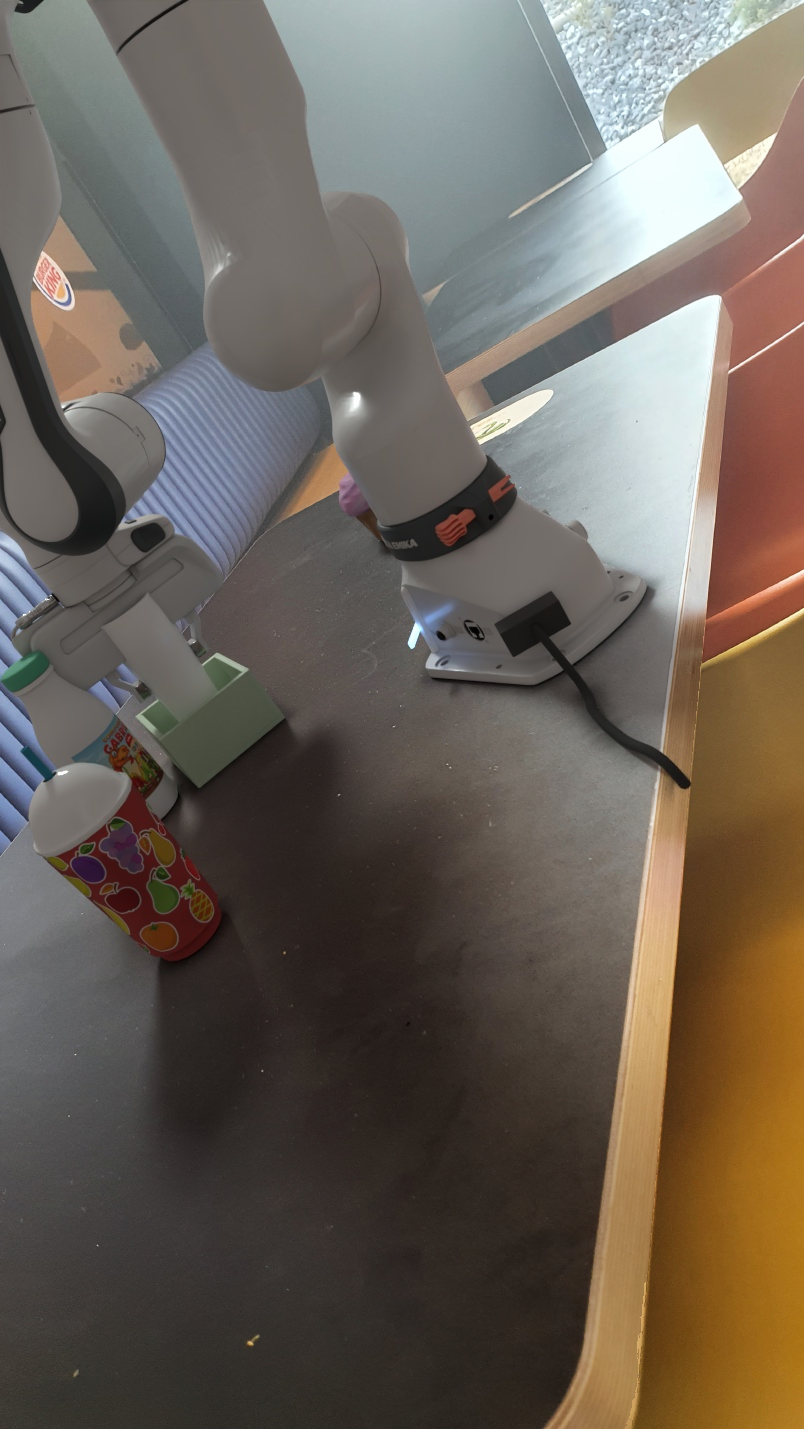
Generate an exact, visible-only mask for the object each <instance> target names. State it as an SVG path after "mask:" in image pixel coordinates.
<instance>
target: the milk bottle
mask: <svg viewBox="0 0 804 1429" xmlns="http://www.w3.org/2000/svg"><path fill="white" fill-rule="evenodd" d="M48 666H49V667H48ZM47 667H48V668H47ZM44 671H45V672H44ZM0 682H1V684H2V685H3V687H5V688H6V690H7V691H8V692H10V693H11V694H12V695H13V697H14V698H18V699H19V700H20V701H21V702H22V704H23V706H24V708H25V710H26V712H27V714H28V716H29V719H30V722H31V725H32V728H33V732H34V736H35V738H36V740H37V743H38V745H39V747H40V749H41V750H42V752H43V753H44V755H45V756H46V757H47V759H48V760H49V761H50V763H51V764H52V765H53V766H54V767H55V769H59V768H61V767H63V766H66V765H70V764H74V763H81V762H83V763H94V764H99V765H103V766H106V767H108V768H110V769H113V770H114V771H116V772H123V773H126V774H127V775H128V776H129V778H130V779H131V781H132V784H133V785H134V786H135V787H136V788H137V789H138V791H139V792H140V793H141V795H142V796H143V797H144V799H145V800H146V801H147V803H148V804H149V805H150V807H151V808H152V809H153V811H154V812H155V813H156V815H157V816H158V817H159V819H160V820H161V821H162V819H163V818H164V817H165V816H166V815H167V814H168V813H169V812H170V810H171V809H172V808H173V806H174V805H175V803H176V801H177V799H178V797H179V796H178V795H179V791H178V787H177V785H176V784H175V783H174V781H173V780H172V779H171V777H170V776H169V775H168V774H167V773H166V771H165V770H164V769H163V768H162V767H161V765H160V764H159V763H158V762H157V760H156V759H155V758H154V757H153V756H152V755H151V754H150V752H149V751H148V750H147V749H146V748H145V746H144V745H143V744H142V743H141V742H140V741H139V740H138V738H137V737H136V736H135V734H133V732H132V731H131V730H130V728H128V727H127V726H126V724H125V723H124V722H123V721H122V720H121V718H120V717H118V715H117V714H116V713H115V712H114V711H113V709H111V707H109V705H107V704H106V703H105V702H104V701H103V700H101V699H100V698H98V697H97V696H96V695H94V694H92V693H91V692H88V691H84V690H82V689H80V688H78V687H76V686H74V685H72V684H70V683H69V682H67V681H66V680H64V679H63V678H61V677H60V676H59V675H58V674H57V673H56V672H55V671H54V666H53V665H51V664H50V662H49V660H48V659H47V657H46V656H45V655H44V654H43V653H42V652H40V651H34V652H31V653H29V654H27V655H26V656H24V657H22V656H21V658H20V659H18V660H17V661H16V662H14V663H13V664H11V665H10V666H9V667H7V669H6V670H5V671H4V672H3V674H2V675H1V676H0Z"/></svg>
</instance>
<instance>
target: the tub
mask: <svg viewBox="0 0 804 1429" xmlns="http://www.w3.org/2000/svg"><path fill="white" fill-rule="evenodd" d="M201 664H202V666H203V668H204V669H205V671H206V672H207V674H208V675H209V677H210V678H211V680H212V682H213V683H214V685H215V686H216V688H217V689H218V690H219V691H218V692H217V693H216V694H214V695H213V696H212V697H211V698H209V699H208V700H207V701H206V702H204V703H203V704H202V705H201V706H199V707H198V708H197V709H196V710H194V711H193V712H192V713H191V714H189V715H188V716H187V717H186V718H184V719H183V720H182V721H181V722H179V723H178V721H177V720H176V719H175V718H174V717H173V716H172V715H171V714H170V712H169V711H168V710H167V709H166V708H165V707H164V706H163V705H162V704H161V703H160V702H159V701H158V700H157V699H155V701H154V702H152V703H151V704H149V705H148V706H146V708H145V709H143V710H142V711H141V712H140V713H138V714H136V716H135V719H136V720H137V721H138V723H139V724H140V725H141V726H142V727H143V729H145V731H146V732H147V733H148V734H149V735H150V736H151V738H152V739H153V741H155V743H156V744H157V745H158V747H160V749H161V750H162V752H164V753H165V755H166V756H167V757H168V758H169V760H170V761H171V762H172V763H173V764H174V765H175V766H176V767H177V768H178V769H179V770H180V771H181V773H183V774H184V775H185V776H186V777H187V778H188V779H189V780H190V781H191V782H192V783H193V784H194V785H195V786H196V787H197V788H198V789H201V788H202V787H203V786H204V785H206V784H207V783H208V782H209V781H210V780H212V779H213V778H214V777H215V776H216V775H218V773H220V772H221V771H222V770H223V769H225V768H226V767H227V766H229V765H230V764H231V763H232V762H233V761H234V760H236V759H237V758H238V757H239V756H240V755H242V754H243V753H245V751H247V750H248V749H249V748H251V746H253V745H254V744H255V743H257V742H258V741H259V740H260V739H262V737H263V736H265V735H266V734H267V733H268V732H270V731H271V730H272V729H274V728H275V727H276V726H277V725H278V724H279V723H280V722H282V721H283V720H284V719H285V718H286V717H285V715H284V714H283V713H282V711H281V710H280V708H279V706H278V705H277V704H276V703H275V701H274V700H273V699H272V698H271V696H270V694H269V693H268V692H267V690H266V689H265V688H264V687H263V686H262V684H261V683H260V681H259V680H258V679H257V677H256V676H255V674H254V673H253V672H252V671H251V669H250V668H248V667H245V666H244V665H242V664H240V663H238V662H236V661H234V660H232V659H230V658H229V657H227V656H225V655H223V654H221V653H219V652H215V653H214V654H213V655H212V656H211V657H209V658H208V659H207V660H206V661H204V662H203V663H201Z"/></svg>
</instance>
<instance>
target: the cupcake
mask: <svg viewBox="0 0 804 1429" xmlns="http://www.w3.org/2000/svg"><path fill="white" fill-rule="evenodd" d="M338 485H339V489H338V490H339V493H338V494H339V496H338V503H339V505H340V508H341V510H342V511H343V512H344V514H347V515H348V516H349V517H351V518H353V517H354V518H356V519H357V520H358V521H359V523H361V524H362V525H363V526H364V527H365V528H366V529H367V530H368V531H369V532H370V534H372V535H373V536H374V537H375V538H376V539H377V540H379V541H382V542H384V541H383V539H382V536H381V533H380V531H379V530H378V528H377V520H378V519H377V518H376V516H375V514H374V513H373V511H372V509H371V508H370V506H369V504H368V503H367V501H366V500H365V498H364V496H363V495H362V493H361V491H360V490H359V488H358V487H357V485H356V483H355V482H354V480H353V478H352V477H351V475H350V473H349V472H347V473H346V474H345V475H344V476H342V477H341V478H340V480H339V483H338Z"/></svg>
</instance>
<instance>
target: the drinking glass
mask: <svg viewBox="0 0 804 1429" xmlns="http://www.w3.org/2000/svg"><path fill="white" fill-rule="evenodd" d="M149 594H150V593H148V592H147V593H146V594H145V595H144V597H143V598H142V599H141V600H140V601H139V602H138V603H137V604H136V605H135V606H133V607H132V608H131V609H130V610H128V611H127V612H126V613H124V614H123V615H121V616H120V617H118V618H117V619H115V620H113V621H112V622H110V623H108V624H106V625H103V626H101V629H104V630H105V631H106V633H107V634H108V636H109V637H110V638H111V640H112V641H113V642H114V644H115V645H116V646H117V647H118V649H119V650H120V651H121V652H122V653H123V655H124V656H125V658H126V661H125V662H124V663H123V664H122V665H123V666H124V667H125V668H126V669H127V670H128V671H129V672H130V673H131V674H132V675H133V676H134V677H135V678H136V680H139V681H140V682H142V683H143V684H144V686H145V687H146V689H147V690H148V691H149V692H150V693H151V694H152V695H151V696H153V697H154V698H155V700H158V701H159V702H160V703H161V704H162V705H163V706H164V707H165V708H166V709H167V710H168V711H169V712H170V714H171V715H172V716H173V717H174V718H175V719H176V720H177V721H178V723H179V722H181V721H182V720H183V719H184V718H186V717H187V716H188V715H189V714H191V713H192V712H193V711H194V710H196V709H197V708H198V707H199V706H201V705H202V704H203V703H204V702H206V701H207V700H208V699H209V698H211V697H212V696H213V695H214V694H216V693H217V692H218V691H219V690H218V689H217V688H216V686H215V685H214V683H213V682H212V680H211V678H210V677H209V675H208V674H207V672H206V671H205V669H204V668H203V666H202V664H203V663H202V662H201V661H200V660H199V657H197V656H196V655H195V653H194V652H193V650H192V649H191V647H190V645H189V644H188V642H187V639H186V637H185V636H184V634H183V632H182V631H181V629H180V628H179V626H178V625H177V622H176V623H175V624H172V623H171V622H170V620H169V619H168V618H167V616H166V615H165V614H164V612H163V611H162V610H161V609H160V607H159V606H158V605H157V604H156V602H155V601H154V600H153V599H152V598H151V597H150V595H149Z"/></svg>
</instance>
